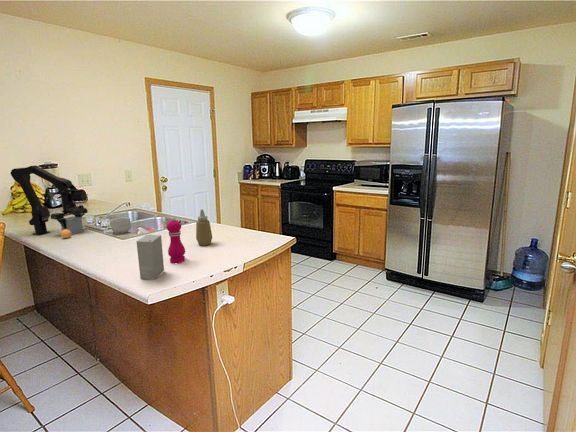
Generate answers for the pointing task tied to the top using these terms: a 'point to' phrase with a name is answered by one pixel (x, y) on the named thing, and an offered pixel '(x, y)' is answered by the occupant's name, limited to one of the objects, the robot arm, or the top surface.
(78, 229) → the grey block
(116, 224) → the teacup
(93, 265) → the top surface
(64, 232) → the ball
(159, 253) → the skincare box
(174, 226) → the pepper mill
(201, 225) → the squeeze bottle
